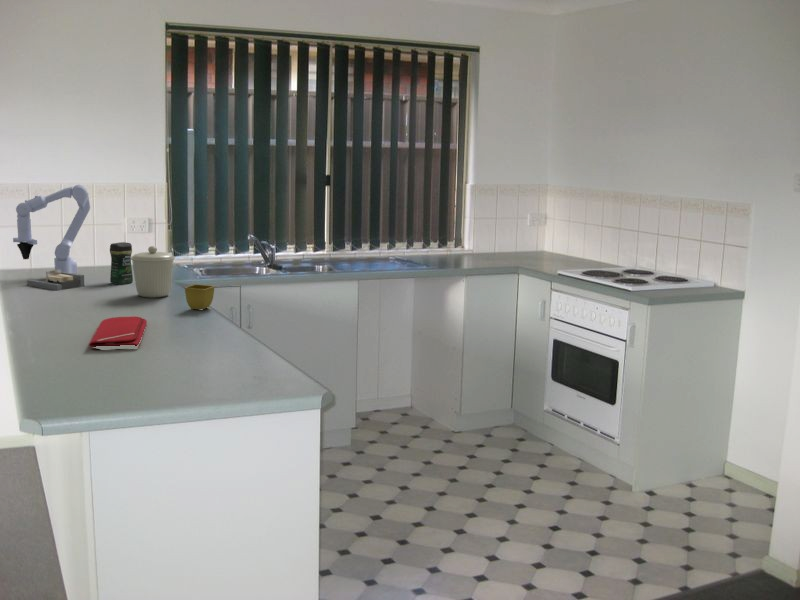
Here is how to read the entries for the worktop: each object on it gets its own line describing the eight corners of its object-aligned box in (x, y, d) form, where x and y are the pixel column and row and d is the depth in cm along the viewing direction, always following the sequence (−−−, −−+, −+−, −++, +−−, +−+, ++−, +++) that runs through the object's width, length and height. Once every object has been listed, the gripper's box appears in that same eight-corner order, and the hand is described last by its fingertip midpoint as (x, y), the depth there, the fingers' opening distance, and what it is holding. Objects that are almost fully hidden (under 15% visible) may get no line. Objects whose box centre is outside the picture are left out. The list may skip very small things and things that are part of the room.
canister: (122, 296, 371) (120, 246, 367) (152, 290, 387) (151, 242, 383) (155, 301, 363) (153, 250, 359) (185, 294, 378) (183, 245, 375)
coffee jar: (119, 285, 397) (117, 244, 393) (107, 283, 401) (106, 242, 398) (136, 282, 405) (135, 242, 401) (124, 280, 409) (123, 240, 406)
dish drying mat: (147, 324, 323) (147, 314, 322) (139, 351, 284) (139, 339, 283) (102, 325, 320) (102, 314, 319) (87, 352, 280) (87, 341, 280)
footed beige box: (60, 280, 396) (60, 269, 395) (74, 283, 391) (73, 271, 390) (46, 283, 389) (45, 271, 388) (59, 285, 385) (59, 273, 384)
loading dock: (54, 282, 404) (53, 270, 403) (84, 287, 393) (84, 274, 392) (27, 286, 392) (26, 274, 391) (57, 291, 381) (57, 278, 380)
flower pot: (215, 308, 352) (215, 285, 351) (204, 312, 344) (204, 289, 342) (195, 306, 355) (195, 284, 353) (184, 310, 346) (184, 287, 345)
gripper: (6, 228, 402) (8, 258, 405) (26, 231, 395) (28, 261, 397) (20, 227, 408) (21, 256, 411) (40, 230, 401) (42, 259, 403)
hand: (26, 259), depth 405 cm, fingers closed
